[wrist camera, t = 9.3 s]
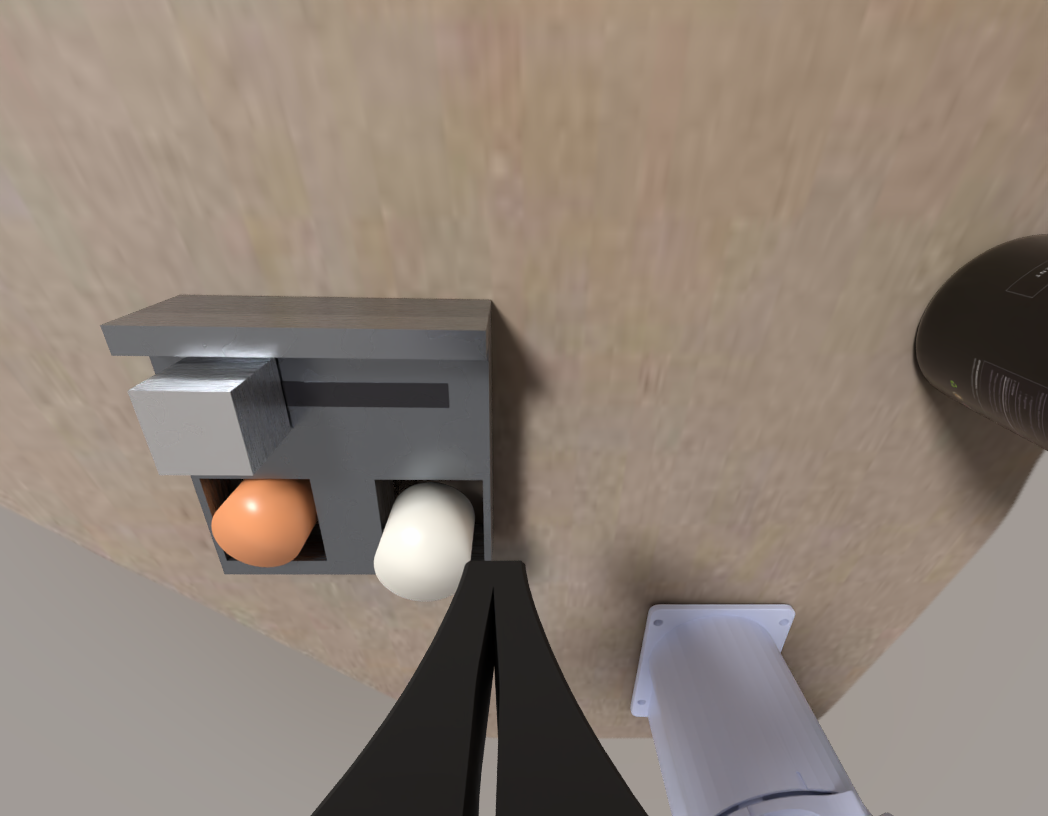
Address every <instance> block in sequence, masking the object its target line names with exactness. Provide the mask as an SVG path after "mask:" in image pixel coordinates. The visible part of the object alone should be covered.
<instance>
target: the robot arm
mask: <svg viewBox="0 0 1048 816" xmlns="http://www.w3.org/2000/svg"><path fill="white" fill-rule="evenodd" d="M794 617H795V612H794V610H793V608H792V607H791V606H790V605H786V604H658V605H654V606H652V607H651V608H650V610H649V613H648V618H647V623H646V628H645V633H644V639H643V644H642V649H641V654H640V659H639V665H638V670H637V675H636V680H635V686H634V691H633V696H632V701H631V706H630V707H631V712H632V714H633V715H634V716H637V717H648V719H649V723H650V727H651V731H652V736H653V740H654V744H655V748H656V752H657V756H658V760H659V764H660V768H661V772H662V776H663V781H664V784H665V789H666V793H667V796H668V801H669V805H670V809H671V813H672V816H872V814H871V813H870V812H869V811H868V809H867V808H866V807H865V805H864V804H863V802H862V800H861V799H860V797H859V795H858V793H857V792H856V790H855V788H854V786H853V784H852V782H851V780H850V779H849V777H848V775H847V773H846V771H845V770H844V768H843V766H842V764H841V762H840V760H839V759H838V757H837V755H836V753H835V752H834V750H833V748H832V746H831V744H830V742H829V740H828V739H827V737H826V735H825V733H824V732H823V730H822V728H821V726H820V724H819V722H818V720H817V719H816V717H815V715H814V713H813V711H812V710H811V708H810V706H809V704H808V702H807V700H806V699H805V697H804V695H803V693H802V691H801V690H800V688H799V686H798V684H797V682H796V680H795V679H794V677H793V675H792V673H791V671H790V669H789V668H788V666H787V664H786V662H785V660H784V659H783V657H782V655H781V650H782V648H783V645H784V643H785V640H786V637H787V635H788V632H789V630H790V627H791V624H792V622H793V619H794ZM494 669H495V688H496V707H497V726H498V764H497V792H496V816H648V815H647V813H646V812H645V810H644V809H643V807H642V806H641V805H640V803H639V802H638V800H637V799H636V798H635V796H634V795H633V793H632V792H631V790H630V789H629V787H628V786H627V784H626V782H625V781H624V779H623V778H622V776H621V775H620V773H619V772H618V770H617V769H616V767H615V766H614V764H613V762H612V761H611V759H610V758H609V756H608V755H607V753H606V752H605V750H604V748H603V747H602V745H601V744H600V742H599V740H598V738H597V737H596V735H595V733H594V732H593V730H592V728H591V726H590V725H589V723H588V721H587V719H586V718H585V716H584V714H583V712H582V710H581V709H580V707H579V705H578V703H577V701H576V699H575V697H574V695H573V694H572V692H571V690H570V688H569V686H568V684H567V682H566V680H565V678H564V675H563V673H562V671H561V669H560V667H559V665H558V663H557V660H556V658H555V656H554V654H553V651H552V649H551V647H550V644H549V642H548V639H547V637H546V634H545V632H544V629H543V627H542V624H541V622H540V619H539V616H538V613H537V611H536V608H535V604H534V601H533V598H532V595H531V591H530V588H529V584H528V579H527V574H526V567H525V564H524V563H523V562H522V561H469V562H467V563H466V564H465V566H464V570H463V573H462V576H461V579H460V582H459V585H458V588H457V590H456V593H455V595H454V597H453V600H452V602H451V604H450V606H449V609H448V611H447V613H446V615H445V617H444V619H443V621H442V623H441V625H440V627H439V629H438V631H437V633H436V635H435V637H434V639H433V641H432V643H431V645H430V647H429V648H428V650H427V652H426V654H425V656H424V657H423V659H422V661H421V663H420V664H419V666H418V668H417V670H416V671H415V673H414V675H413V677H412V678H411V680H410V681H409V683H408V685H407V686H406V688H405V690H404V691H403V693H402V694H401V696H400V697H399V699H398V701H397V702H396V704H395V705H394V707H393V708H392V710H391V711H390V713H389V714H388V716H387V717H386V719H385V720H384V721H383V723H382V724H381V726H380V727H379V728H378V730H377V731H376V733H375V734H374V735H373V737H372V738H371V740H370V741H369V743H368V744H367V745H366V747H365V748H364V749H363V751H362V752H361V753H360V755H359V756H358V757H357V759H356V760H355V762H354V763H353V764H352V765H351V767H350V768H349V769H348V770H347V772H346V773H345V774H344V776H343V777H342V778H341V779H340V780H339V782H338V783H337V784H336V785H335V786H334V788H333V789H332V790H331V791H330V793H329V794H328V795H327V796H326V798H325V799H324V800H323V801H322V802H321V804H320V805H319V806H318V808H317V809H316V810H315V811H314V812H313V813H312V815H311V816H479V794H480V782H481V771H482V762H483V754H484V745H485V738H486V730H487V721H488V713H489V705H490V697H491V688H492V680H493V672H494ZM880 816H893V815H892V814H890V813H884V814H882V815H880Z"/></svg>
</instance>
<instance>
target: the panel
mask: <svg viewBox="0 0 1048 816" xmlns="http://www.w3.org/2000/svg"><path fill="white" fill-rule="evenodd" d="M100 326H101V329H102V331H103V334H104V336H105V339H106V342H107V344H108V347H109V350H110V352H111V355H113V356H149V357H150V360H151V363H152V366H153V368H154V371H155V374H157V373H159V372H161V371H162V370H164V369H166V368H168V367H169V366H171V365H173V364H175V363H176V362H178V361H180V360H182V359H183V358H185V357H187V356H194V357H275V360H276V365H277V369H278V374H279V378H280V383H281V387H282V392H283V396H284V401H285V405H286V410H287V414H288V419H289V423H290V428H291V431H290V433H289V434H288V435H287V436H286V437H285V439H284V440H283V441H282V442H281V443H280V444H279V446H278V447H277V448H276V449H275V450H274V452H273V453H272V454H271V455H270V456H269V457H268V459H267V460H266V461H265V462H264V463H263V465H262V466H261V467H260V468H259V469H258V470H257V472H256V473H255V474H254V475H253V476H239V475H191V478H192V481H193V484H194V487H195V490H196V493H197V496H198V499H199V501H200V504H201V507H202V510H203V513H204V516H205V519H206V522H207V525H208V527H209V530H210V533H211V536H212V539H213V542H214V545H215V548H216V551H217V553H218V556H219V559H220V562H221V565H222V568H223V571H224V574H376V573H375V569H374V557H375V554H376V551H377V548H378V546H379V543H380V540H381V537H382V534H383V532H384V529H385V526H386V523H387V520H388V518H389V515H390V512H391V509H392V506H393V504H394V502H395V496H394V487H393V480H483V512H484V524H474V533H473V542H472V551H471V560H470V561H492V554H493V442H492V343H491V300H473V299H409V298H345V297H281V296H217V295H178V296H176V297H173V298H170V299H168V300H165V301H162V302H160V303H157V304H155V305H152V306H149V307H147V308H144V309H141V310H139V311H136V312H134V313H131V314H128V315H126V316H123V317H120V318H118V319H115V320H113V321H110V322H107V323H105V324H102V325H100ZM241 479H310V483H311V488H312V492H313V497H314V502H315V506H316V511H317V516H318V520H319V524H315V526H314V527H313V529H312V531H311V533H310V535H309V536H308V538H307V540H306V542H305V544H304V545H303V547H302V549H301V551H300V552H299V554H298V555H297V556H296V557H295V558H294V559H293V560H292V561H290V562H288V563H286V564H284V565H281V566H276V567H258V566H253V565H249V564H246V563H243V562H241V561H239V560H237V559H235V558H233V557H232V556H230V555H229V554H227V553H226V552H225V551H224V550H223V549H222V548H221V547H220V546H219V544H218V543H217V541H216V540H215V538H214V536H213V533H212V526H211V525H212V519H213V516H214V514H215V512H216V511H217V510H218V509H219V508H220V506H221V505H222V504H223V503H224V502H225V501H226V499H227V498H228V497H229V496H230V495H231V494H232V493H233V491H234V490H235V489H236V488H237V487H238V486H239V484H240V483H241V482H242V480H241Z"/></svg>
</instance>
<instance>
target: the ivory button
mask: <svg viewBox="0 0 1048 816" xmlns="http://www.w3.org/2000/svg"><path fill="white" fill-rule="evenodd" d="M474 524H475V512H474V508H473V506H472V504H471V502H470V501H469V499H468V498H467V497H466V496H465V495H464V494H463V493H462V492H460V491H459V490H457V489H455V488H454V487H451V486H449V485H446V484H442V483H436V482H425V483H419V484H416V485H413V486H411V487H409V488H407V489H405V490H404V491H403V492H401V493H400V494H399V495H398V497H397V498H396V500H395V502H394V504H393V506H392V509H391V512H390V515H389V518H388V520H387V523H386V526H385V529H384V532H383V534H382V537H381V540H380V543H379V546H378V548H377V551H376V554H375V557H374V569H375V573H376V575H377V577H378V579H379V580H380V582H381V583H382V584H383V585H384V586H385V587H386V588H387V589H388V590H390V591H391V592H393V593H394V594H396V595H398V596H400V597H403V598H406V599H410V600H414V601H436V600H440V599H444V598H447V597H449V596H451V595H453V594H454V593H456V590H457V588H458V585H459V582H460V579H461V576H462V573H463V570H464V566H465V564H466V563H467V562H469V561H470V560H471V551H472V542H473V533H474Z"/></svg>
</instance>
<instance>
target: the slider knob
mask: <svg viewBox="0 0 1048 816" xmlns="http://www.w3.org/2000/svg"><path fill="white" fill-rule="evenodd" d="M128 394H129V396H130V399H131V402H132V404H133V407H134V410H135V412H136V415H137V418H138V420H139V423H140V425H141V428H142V431H143V433H144V436H145V439H146V441H147V444H148V446H149V449H150V452H151V454H152V457H153V460H154V462H155V465H156V468H157V470H158V473H159V475H239V476H253V475H254V474H255V473H256V472H257V470H258V469H259V468H260V467H261V466H262V465H263V463H264V462H265V461H266V460H267V459H268V457H269V456H270V455H271V454H272V453H273V452H274V450H275V449H276V448H277V447H278V446H279V444H280V443H281V442H282V441H283V440H284V439H285V437H286V436H287V435H288V434H289V433H290V431H291V428H290V423H289V419H288V414H287V410H286V405H285V401H284V396H283V392H282V387H281V383H280V378H279V374H278V369H277V365H276V360H275V357H194V356H187V357H185V358H183V359H182V360H180V361H178V362H176V363H175V364H173V365H171V366H169V367H168V368H166V369H164V370H162V371H161V372H159V373H157V374H156V375H154V376H152V377H150V378H149V379H147V380H145V381H143V382H142V383H140V384H138V385H137V386H135V387H133V388H131V389H130V390H128Z"/></svg>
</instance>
